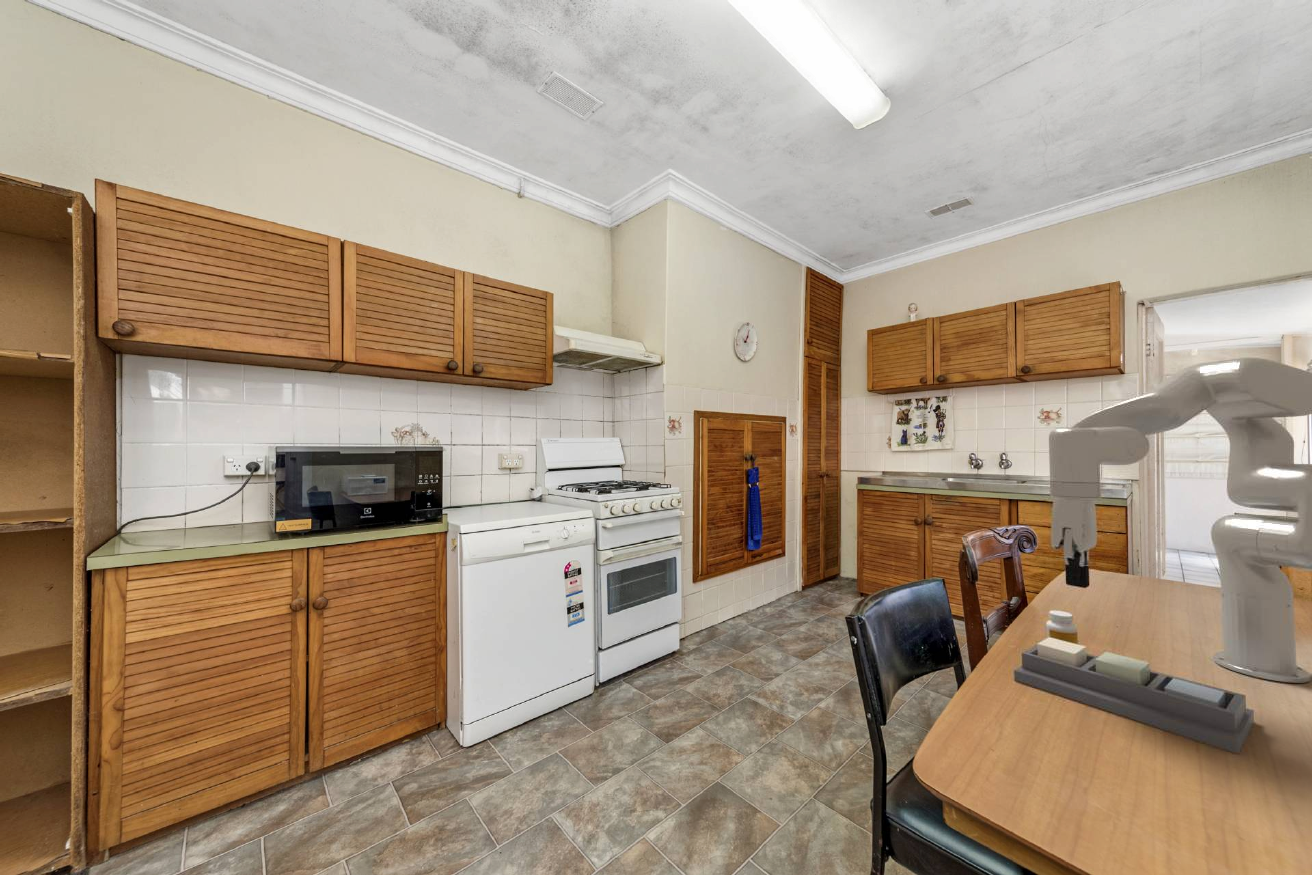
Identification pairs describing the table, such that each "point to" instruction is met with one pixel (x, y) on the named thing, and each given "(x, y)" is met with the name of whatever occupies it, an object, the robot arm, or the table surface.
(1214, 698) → the blue key
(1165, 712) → the grey compartment tray
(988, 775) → the table surface
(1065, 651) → the cream key
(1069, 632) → the supplement bottle
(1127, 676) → the sage key
